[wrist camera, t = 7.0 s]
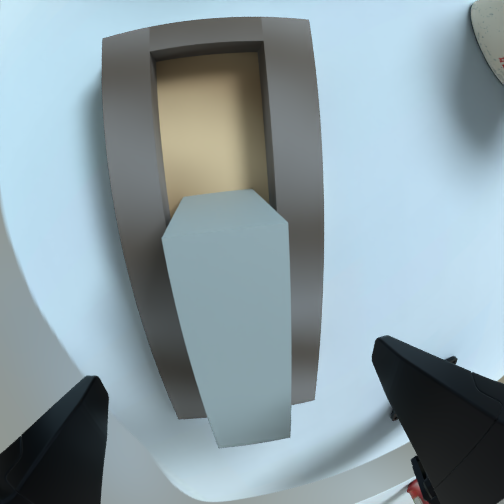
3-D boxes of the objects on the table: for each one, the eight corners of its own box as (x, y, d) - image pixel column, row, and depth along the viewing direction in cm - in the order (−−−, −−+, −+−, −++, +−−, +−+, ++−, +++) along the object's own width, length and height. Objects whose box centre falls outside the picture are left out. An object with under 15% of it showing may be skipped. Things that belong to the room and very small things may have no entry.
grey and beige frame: (307, 373, 18) (319, 398, 16) (175, 391, 17) (173, 419, 15) (298, 38, 11) (315, 20, 9) (113, 56, 10) (95, 40, 8)
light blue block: (264, 352, 16) (290, 437, 10) (212, 359, 15) (218, 448, 10) (252, 188, 12) (287, 222, 7) (183, 196, 12) (161, 238, 6)
